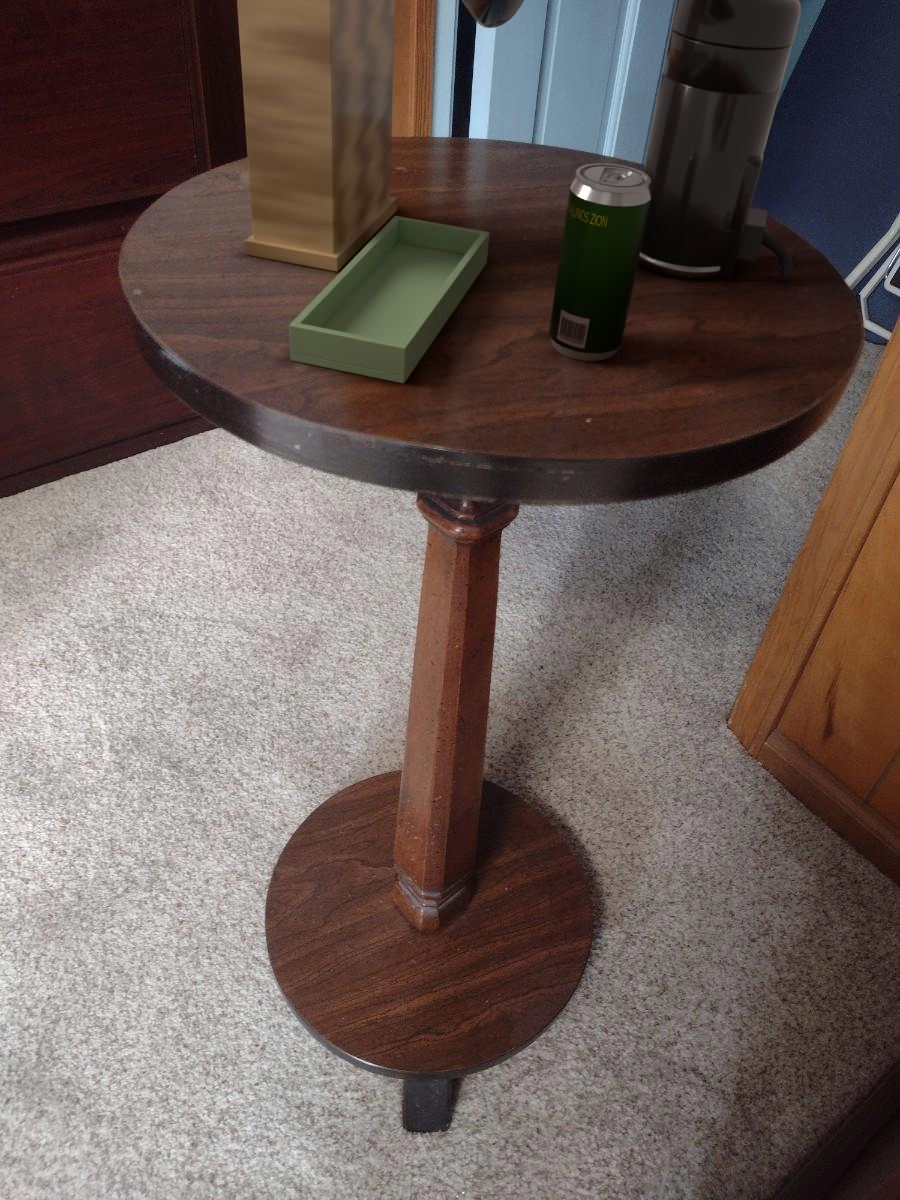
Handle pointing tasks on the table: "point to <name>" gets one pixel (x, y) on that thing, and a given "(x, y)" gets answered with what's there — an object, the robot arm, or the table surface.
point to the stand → (317, 125)
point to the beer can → (598, 260)
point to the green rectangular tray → (390, 300)
